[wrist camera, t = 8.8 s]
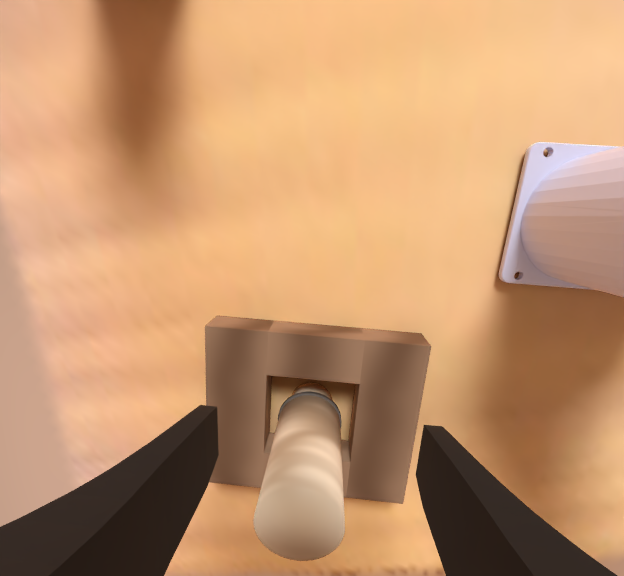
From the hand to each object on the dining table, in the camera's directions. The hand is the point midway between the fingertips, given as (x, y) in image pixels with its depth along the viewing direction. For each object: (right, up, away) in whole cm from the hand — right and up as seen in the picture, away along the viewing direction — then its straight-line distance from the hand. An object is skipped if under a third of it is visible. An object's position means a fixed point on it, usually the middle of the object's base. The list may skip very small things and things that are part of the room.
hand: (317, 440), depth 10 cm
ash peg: (0, -3, +11) cm, 12 cm away
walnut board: (0, -3, +11) cm, 12 cm away
